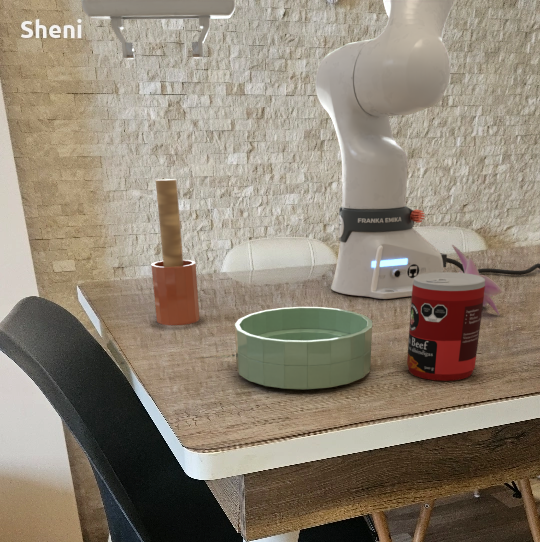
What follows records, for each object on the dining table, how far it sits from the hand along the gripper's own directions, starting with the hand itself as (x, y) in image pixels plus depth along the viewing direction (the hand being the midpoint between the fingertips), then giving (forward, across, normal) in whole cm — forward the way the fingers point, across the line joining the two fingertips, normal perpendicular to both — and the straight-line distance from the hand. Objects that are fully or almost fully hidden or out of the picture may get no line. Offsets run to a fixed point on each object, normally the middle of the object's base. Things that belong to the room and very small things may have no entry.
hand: (163, 58), depth 92 cm
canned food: (+36, -33, +33) cm, 58 cm away
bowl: (+36, -16, +30) cm, 50 cm away
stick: (+35, +1, +4) cm, 35 cm away
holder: (+36, +1, +4) cm, 36 cm away
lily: (+36, -46, +5) cm, 58 cm away
